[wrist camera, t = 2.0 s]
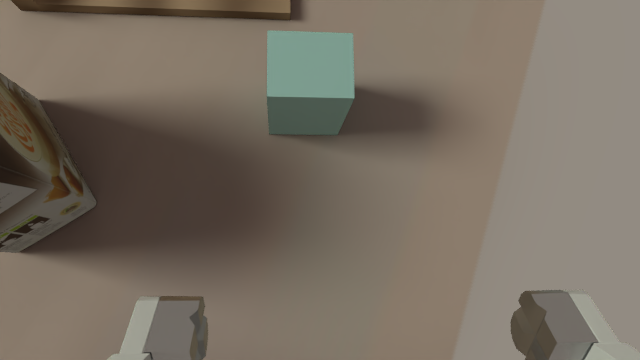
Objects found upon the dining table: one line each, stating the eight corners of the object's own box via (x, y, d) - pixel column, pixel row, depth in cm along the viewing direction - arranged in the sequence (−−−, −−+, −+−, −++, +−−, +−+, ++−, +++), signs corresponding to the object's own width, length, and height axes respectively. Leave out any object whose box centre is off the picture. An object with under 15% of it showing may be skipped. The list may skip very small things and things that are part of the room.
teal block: (269, 133, 35) (266, 96, 27) (269, 81, 36) (267, 30, 28) (337, 134, 35) (354, 98, 28) (336, 83, 36) (352, 33, 28)
